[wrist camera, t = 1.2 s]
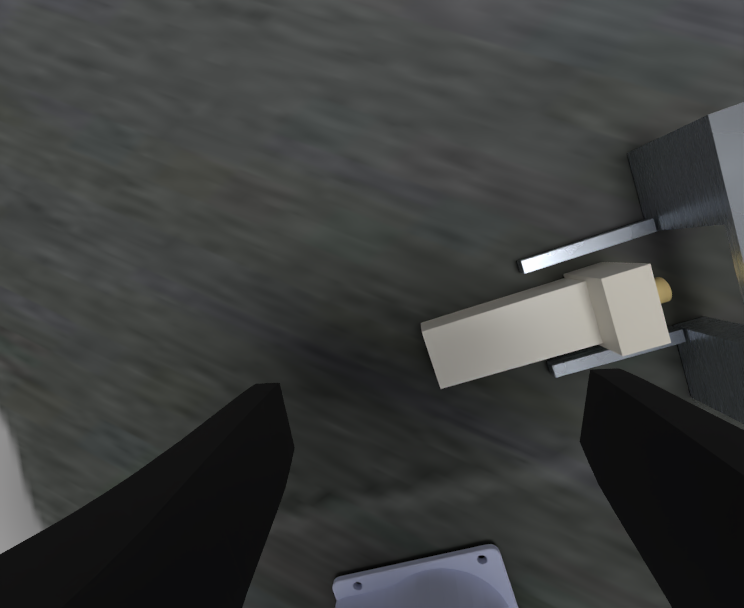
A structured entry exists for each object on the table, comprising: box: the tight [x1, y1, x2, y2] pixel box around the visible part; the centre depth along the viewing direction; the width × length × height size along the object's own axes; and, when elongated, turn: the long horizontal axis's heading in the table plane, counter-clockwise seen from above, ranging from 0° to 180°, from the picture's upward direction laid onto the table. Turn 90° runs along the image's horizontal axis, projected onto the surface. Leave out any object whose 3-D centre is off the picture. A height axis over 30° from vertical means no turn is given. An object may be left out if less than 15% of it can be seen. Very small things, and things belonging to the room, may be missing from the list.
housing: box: [516, 102, 744, 424], centre depth 15 cm, size 7×12×5 cm, turn 19°
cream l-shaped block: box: [421, 262, 672, 389], centre depth 16 cm, size 10×3×4 cm, turn 109°
